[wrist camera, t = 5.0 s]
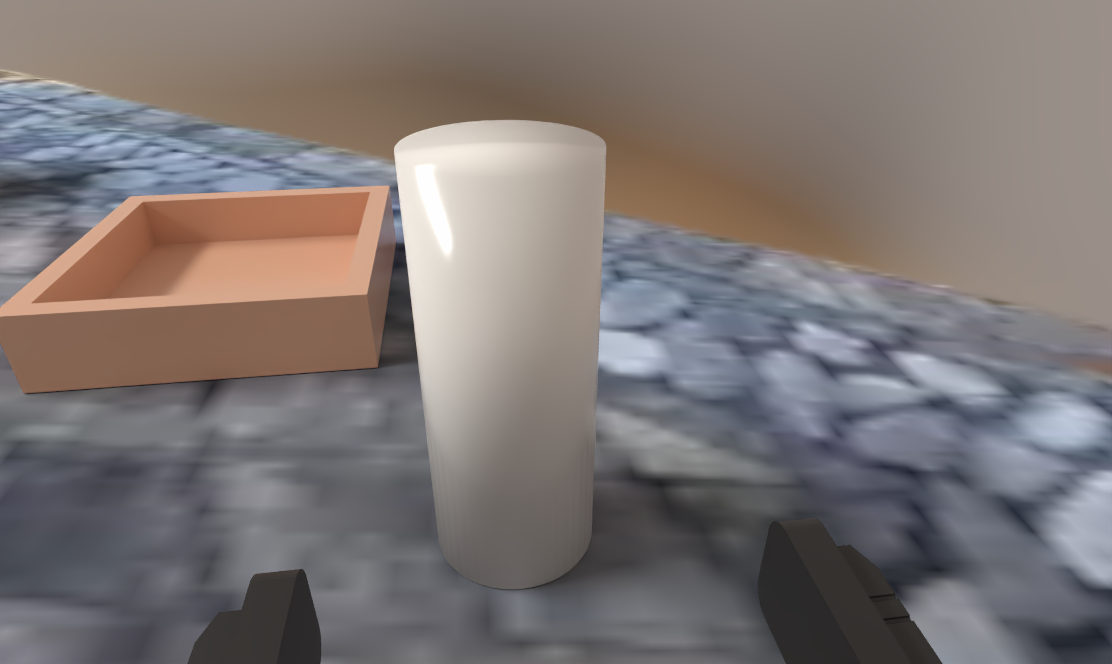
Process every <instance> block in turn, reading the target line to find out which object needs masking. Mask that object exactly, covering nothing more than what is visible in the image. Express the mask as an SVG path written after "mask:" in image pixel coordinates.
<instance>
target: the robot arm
mask: <svg viewBox="0 0 1112 664" xmlns="http://www.w3.org/2000/svg"><path fill="white" fill-rule="evenodd" d="M758 594H759V600H760V605H761V608H762V612H763V614H764V617H765V619H766V621H767V623H768V626H769V628H770V630H771V632H772V634H773V636H774V638H775V641H776V643H777V645H778V647H779V649H780V651H781V653H782V656H783V658H784V660H785V662H786V664H942V662H941V661H940V659H939V658H938V656H937V655H936V653H935V652H934V650H933V649H932V647H931V646H930V644H929V643H928V642H927V640H926V639H925V637H924V636H923V634H922V633H921V631H920V630H919V628H918V627H917V625H916V624H915V622H914V621H911V620H910V615H909V614H908V612H907V611H906V609H905V608H904V606H903V605H902V603H901V602H900V600H899V599H896V598H895V593H894V591H893V590H892V588H891V587H890V586H889V584H888V583H887V581H886V580H885V578H884V577H883V575H882V574H881V572H880V571H879V569H878V568H877V567H876V566H875V565H874V564H873V563H871V562H870V561H869V560H868V559H867V558H865V557H864V556H863V555H862V554H860V553H859V552H858V551H857V550H856V549H854V548H853V547H852V546H851V545H847V546H838V547H837V546H836V544H835V543H834V541H833V540H832V538H831V537H830V535H829V533H828V532H827V530H826V529H825V527H824V526H823V524H822V523H821V522H820V521H819V520H818V519H816V518H806V519H796V520H786V521H777V522H773V523H772V524H771V525H770V527H769V531H768V536H767V541H766V545H765V550H764V555H763V560H762V564H761V569H760V574H759V579H758ZM320 662H321V635H320V628H319V624H318V620H317V616H316V612H315V608H314V604H313V600H312V596H311V592H310V589H309V585H308V581H307V577H306V574H305V572H304V570H302V569H299V570H289V571H279V572H270V573H260V574H255V575H254V576H253V577H252V579H251V581H250V584H249V587H248V590H247V594H246V597H245V600H244V604H243V607H242V610H237V611H228V612H219V613H218V614H217V615H216V617H215V618H214V619H213V620H212V622H211V623H210V624H209V626H208V627H207V628H206V629H205V631H204V632H203V633H202V634H201V636H200V637H199V638H198V640H197V641H196V642H195V644H194V647H193V650H192V653H191V655H190V658H189V661H188V664H320Z"/></svg>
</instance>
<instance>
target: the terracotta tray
mask: <svg viewBox="0 0 1112 664" xmlns="http://www.w3.org/2000/svg"><path fill="white" fill-rule="evenodd" d="M395 247H396V236H395V228H394V219H393V211H392V203H391V195H390V186H368V187H344V188H320V189H297V190H273V191H249V192H225V193H202V194H178V195H154V196H131V197H129V198H128V199H127V200H126V201H124V202H123V203H122V204H121V205H120V206H119V207H117V208H116V209H115V210H114V211H113V212H112V213H110V214H109V215H108V216H107V217H106V218H105V219H103V220H102V221H101V222H100V223H99V224H97V225H96V226H95V227H94V228H93V229H92V230H90V231H89V232H88V233H87V234H86V235H85V236H83V237H82V238H81V239H80V240H79V241H78V242H76V243H75V244H74V245H73V246H72V247H71V248H69V249H68V250H67V251H66V252H65V253H63V254H62V255H61V256H60V257H59V258H58V259H56V260H55V261H54V262H53V263H52V264H51V265H49V266H48V267H47V268H46V269H45V270H44V271H42V272H41V273H40V274H39V275H38V276H37V277H35V278H34V279H33V280H32V281H31V282H30V283H28V284H27V285H26V286H25V287H24V288H22V289H21V290H20V291H19V292H18V293H17V294H15V295H14V296H13V297H12V298H11V299H10V300H8V301H7V302H6V303H5V304H4V305H3V306H1V307H0V343H1V345H2V347H3V350H4V352H5V354H6V356H7V358H8V360H9V363H10V365H11V367H12V369H13V371H14V374H15V376H16V378H17V380H18V382H19V384H20V387H21V389H22V391H23V393H36V392H50V391H64V390H77V389H91V388H105V387H118V386H132V385H146V384H159V383H173V382H187V381H200V380H214V379H228V378H241V377H255V376H268V375H282V374H296V373H309V372H323V371H337V370H350V369H364V368H378V363H379V357H380V350H381V343H382V336H383V329H384V322H385V316H386V309H387V302H388V295H389V288H390V281H391V275H392V268H393V261H394V254H395Z"/></svg>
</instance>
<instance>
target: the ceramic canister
mask: <svg viewBox="0 0 1112 664" xmlns="http://www.w3.org/2000/svg"><path fill="white" fill-rule="evenodd" d="M394 154H395V163H396V171H397V180H398V189H399V198H400V206H401V215H402V224H403V233H404V241H405V250H406V259H407V268H408V276H409V285H410V294H411V303H412V311H413V320H414V329H415V338H416V346H417V355H418V364H419V373H420V381H421V390H422V399H423V408H424V416H425V425H426V434H427V443H428V451H429V460H430V469H431V478H432V487H433V495H434V504H435V513H436V522H437V530H438V539H439V545H440V548H441V551H442V553H443V555H444V557H445V559H446V560H447V562H448V563H449V564H450V565H451V567H452V568H453V569H454V570H455V571H457V572H458V573H459V574H461V575H462V576H464V577H465V578H467V579H469V580H471V581H473V582H475V583H478V584H480V585H484V586H487V587H492V588H498V589H525V588H531V587H536V586H539V585H543V584H546V583H548V582H551V581H553V580H555V579H557V578H559V577H561V576H563V575H564V574H565V573H567V572H568V571H570V570H571V569H572V568H573V567H574V566H575V565H576V564H577V563H578V562H579V561H580V560H581V559H582V557H583V556H584V554H585V552H586V551H587V549H588V546H589V544H590V540H591V535H592V514H593V487H594V460H595V433H596V406H597V379H598V352H599V326H600V299H601V272H602V245H603V218H604V191H605V190H604V189H605V164H606V144H605V142H604V140H602V139H601V138H600V137H599V136H597V135H596V134H593V133H591V132H589V131H586V130H583V129H580V128H576V127H572V126H567V125H562V124H556V123H548V122H538V121H522V120H490V121H474V122H465V123H456V124H449V125H444V126H439V127H434V128H430V129H426V130H423V131H419V132H417V133H414V134H411V135H409V136H407V137H405V138H404V139H402V140H401V141H399V142H398V143H397V144H396V146H395V148H394Z"/></svg>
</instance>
